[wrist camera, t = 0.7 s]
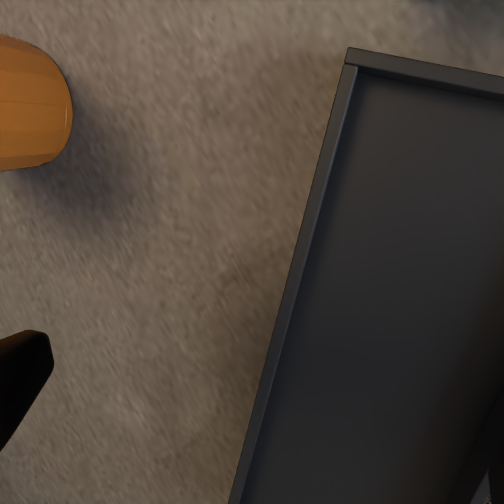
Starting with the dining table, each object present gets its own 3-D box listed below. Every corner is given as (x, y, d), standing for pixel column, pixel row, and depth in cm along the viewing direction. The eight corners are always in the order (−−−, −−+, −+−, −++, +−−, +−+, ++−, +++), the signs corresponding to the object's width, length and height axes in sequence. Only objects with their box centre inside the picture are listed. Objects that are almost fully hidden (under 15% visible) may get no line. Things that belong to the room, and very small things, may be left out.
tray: (417, 567, 25) (423, 613, 23) (232, 496, 27) (220, 532, 25) (647, 116, 16) (698, 114, 14) (348, 57, 18) (347, 46, 16)
